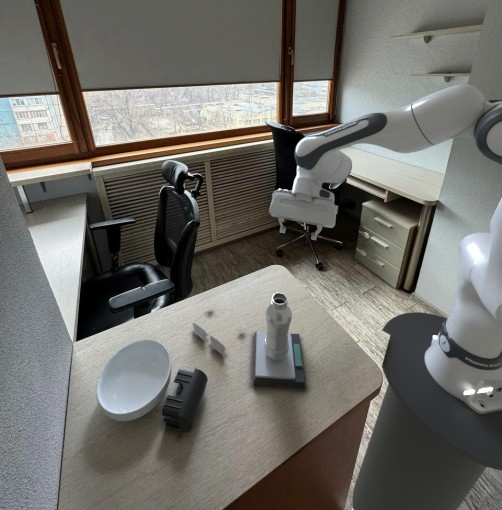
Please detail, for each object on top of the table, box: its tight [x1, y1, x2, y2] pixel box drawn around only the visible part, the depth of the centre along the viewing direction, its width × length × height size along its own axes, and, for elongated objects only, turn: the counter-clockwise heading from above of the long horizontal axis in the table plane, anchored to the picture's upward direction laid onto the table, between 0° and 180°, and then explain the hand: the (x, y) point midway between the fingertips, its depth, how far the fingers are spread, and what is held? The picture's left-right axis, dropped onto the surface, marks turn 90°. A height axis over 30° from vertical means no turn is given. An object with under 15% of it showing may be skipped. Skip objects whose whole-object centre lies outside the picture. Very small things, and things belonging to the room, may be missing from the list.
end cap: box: [161, 367, 209, 433], centre depth 63 cm, size 10×7×7 cm
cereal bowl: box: [95, 339, 173, 422], centre depth 66 cm, size 17×17×7 cm
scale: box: [252, 331, 306, 389], centre depth 74 cm, size 13×13×3 cm
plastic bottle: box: [264, 292, 293, 361], centre depth 69 cm, size 6×7×20 cm
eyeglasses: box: [191, 311, 243, 355], centre depth 81 cm, size 14×8×4 cm, turn 54°
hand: (297, 236), depth 80 cm, fingers open, 8 cm apart
